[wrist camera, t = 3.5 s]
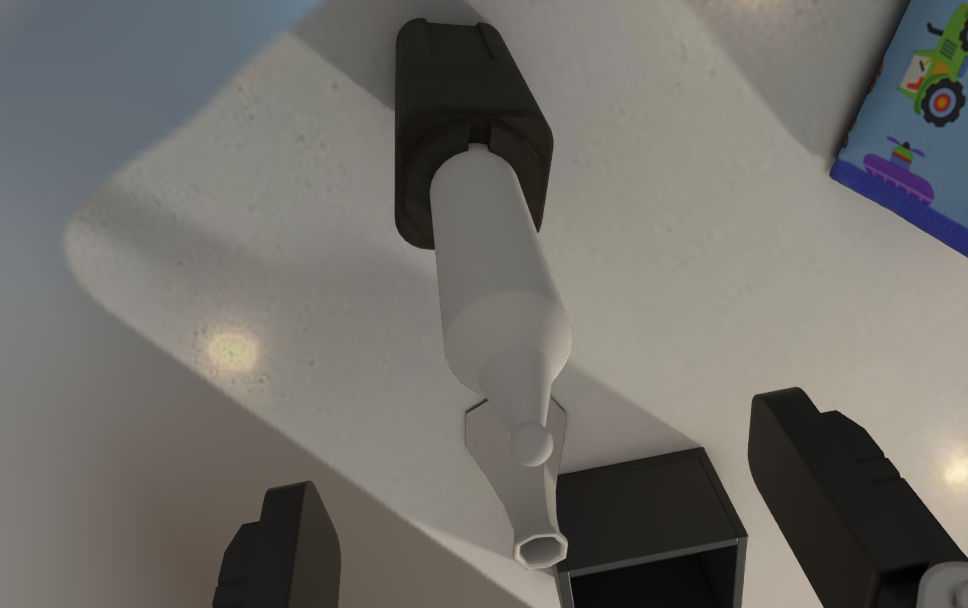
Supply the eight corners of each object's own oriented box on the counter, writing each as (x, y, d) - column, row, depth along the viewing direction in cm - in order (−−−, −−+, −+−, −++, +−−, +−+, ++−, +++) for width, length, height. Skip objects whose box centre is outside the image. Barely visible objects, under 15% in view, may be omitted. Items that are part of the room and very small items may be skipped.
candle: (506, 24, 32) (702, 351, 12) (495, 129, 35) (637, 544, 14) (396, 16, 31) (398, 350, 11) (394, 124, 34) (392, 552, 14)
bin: (554, 577, 57) (574, 671, 51) (537, 479, 50) (558, 573, 44) (700, 549, 57) (739, 639, 51) (703, 446, 50) (749, 536, 44)
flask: (480, 475, 49) (497, 603, 41) (448, 405, 45) (460, 531, 37) (577, 447, 49) (614, 570, 40) (553, 374, 45) (589, 495, 36)
